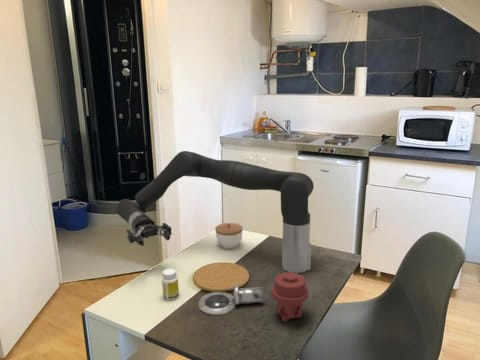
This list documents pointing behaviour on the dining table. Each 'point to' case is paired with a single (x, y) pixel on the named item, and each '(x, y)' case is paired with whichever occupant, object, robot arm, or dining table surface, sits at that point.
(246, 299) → the flange fitting
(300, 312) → the mechanical component
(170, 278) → the supplement bottle
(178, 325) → the dining table surface
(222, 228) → the lidded jar
